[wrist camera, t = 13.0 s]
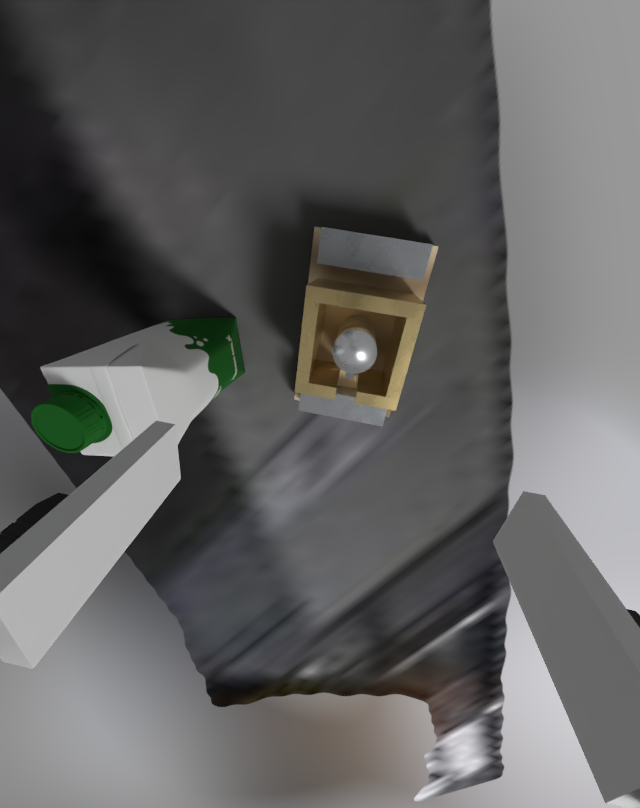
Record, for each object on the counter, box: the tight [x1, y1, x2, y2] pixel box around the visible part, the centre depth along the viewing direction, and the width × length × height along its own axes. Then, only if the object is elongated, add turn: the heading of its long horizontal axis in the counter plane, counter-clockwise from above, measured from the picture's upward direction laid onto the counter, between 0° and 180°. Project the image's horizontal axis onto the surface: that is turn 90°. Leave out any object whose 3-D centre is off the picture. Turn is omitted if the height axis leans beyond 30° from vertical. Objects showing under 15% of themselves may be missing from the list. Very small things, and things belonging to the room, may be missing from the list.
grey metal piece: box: [299, 227, 433, 426], centre depth 31 cm, size 19×10×7 cm, turn 172°
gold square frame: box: [295, 278, 426, 411], centre depth 31 cm, size 10×10×7 cm
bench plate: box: [294, 227, 438, 417], centre depth 35 cm, size 19×12×2 cm, turn 172°
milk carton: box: [31, 317, 245, 456], centre depth 30 cm, size 9×9×20 cm
